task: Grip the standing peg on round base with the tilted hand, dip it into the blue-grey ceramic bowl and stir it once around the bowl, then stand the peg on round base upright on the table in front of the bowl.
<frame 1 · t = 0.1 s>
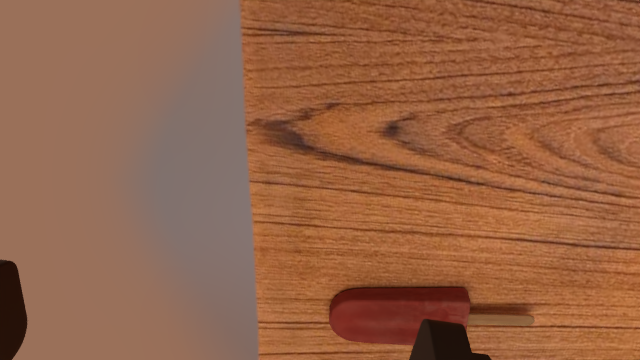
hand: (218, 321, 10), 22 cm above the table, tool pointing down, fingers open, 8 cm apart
popsicle: (428, 307, 39), on the table
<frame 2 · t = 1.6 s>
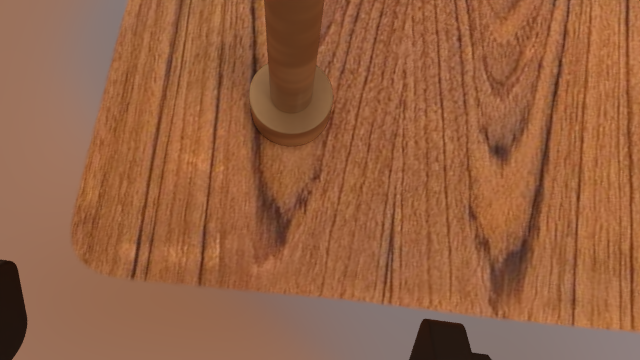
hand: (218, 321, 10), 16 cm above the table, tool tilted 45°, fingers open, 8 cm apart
peg on round base: (290, 109, 29), on the table
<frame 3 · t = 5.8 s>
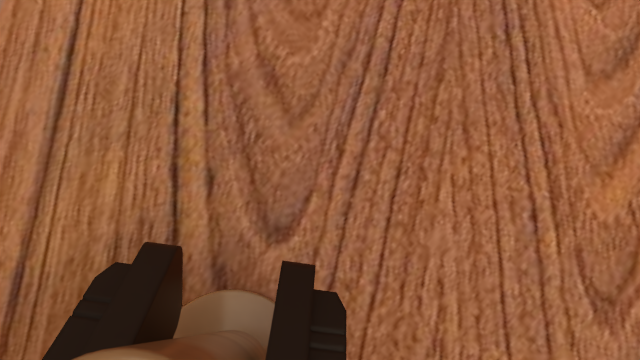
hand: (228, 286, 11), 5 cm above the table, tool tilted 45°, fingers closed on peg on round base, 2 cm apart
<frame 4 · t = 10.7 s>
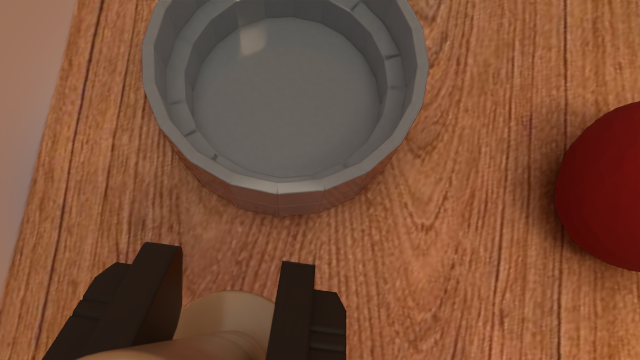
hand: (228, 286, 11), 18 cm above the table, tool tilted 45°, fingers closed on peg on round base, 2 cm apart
apple: (601, 206, 31), on the table
bowl: (287, 103, 32), on the table
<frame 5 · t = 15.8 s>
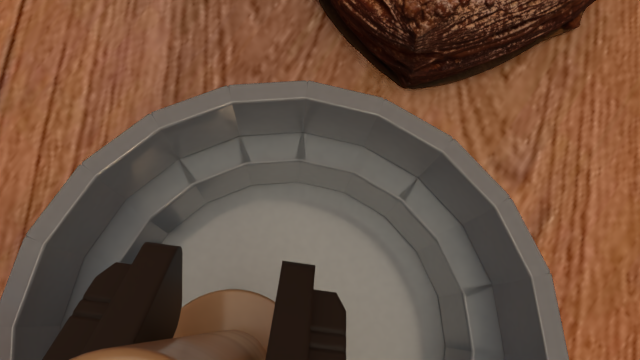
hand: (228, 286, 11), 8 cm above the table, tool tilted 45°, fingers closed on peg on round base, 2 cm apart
bowl: (286, 336, 19), on the table
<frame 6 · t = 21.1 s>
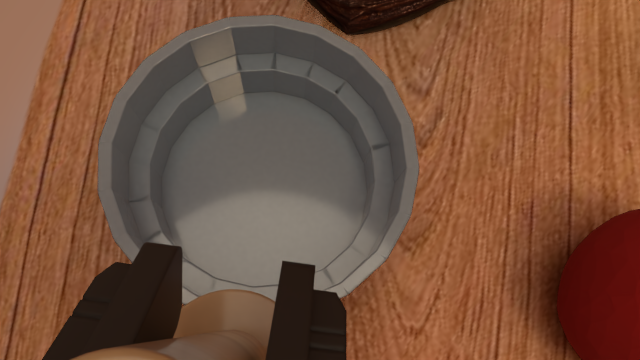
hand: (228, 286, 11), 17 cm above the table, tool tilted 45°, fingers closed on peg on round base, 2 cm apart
apple: (608, 305, 29), on the table
bowl: (265, 188, 29), on the table
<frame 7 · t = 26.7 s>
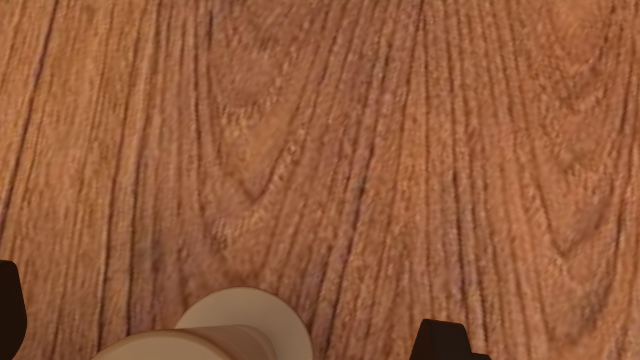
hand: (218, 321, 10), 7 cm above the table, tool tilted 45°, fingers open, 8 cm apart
peg on round base: (244, 359, 17), on the table
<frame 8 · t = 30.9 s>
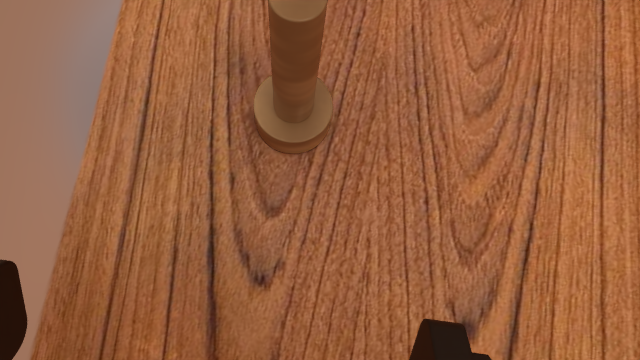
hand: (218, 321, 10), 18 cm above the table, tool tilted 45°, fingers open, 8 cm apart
peg on round base: (292, 118, 30), on the table
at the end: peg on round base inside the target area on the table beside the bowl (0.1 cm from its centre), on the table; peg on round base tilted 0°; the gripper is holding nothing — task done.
